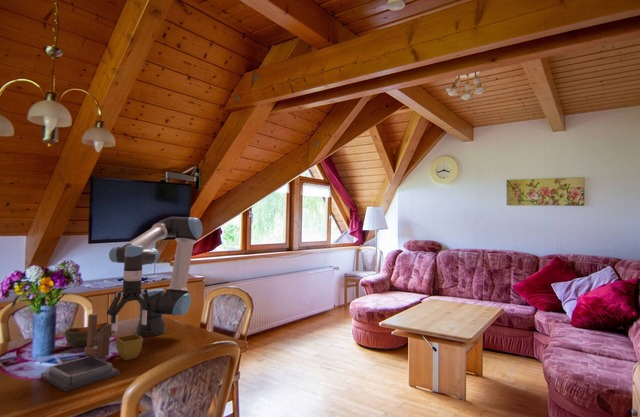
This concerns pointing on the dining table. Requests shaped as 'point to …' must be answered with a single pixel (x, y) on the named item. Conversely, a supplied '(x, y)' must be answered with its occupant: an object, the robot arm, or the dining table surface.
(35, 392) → the dining table surface
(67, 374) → the collar stand
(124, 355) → the flower pot
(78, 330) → the cup
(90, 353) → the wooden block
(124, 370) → the dining table surface
